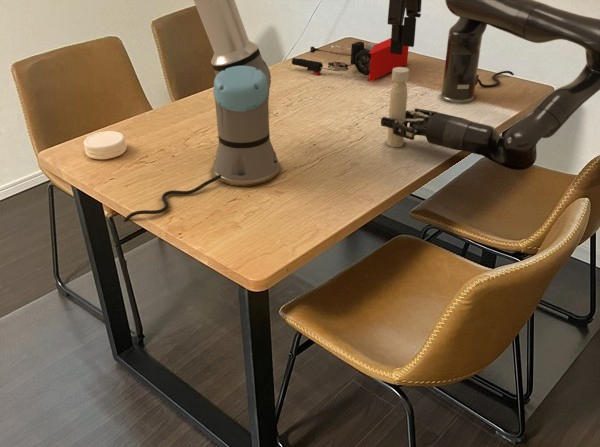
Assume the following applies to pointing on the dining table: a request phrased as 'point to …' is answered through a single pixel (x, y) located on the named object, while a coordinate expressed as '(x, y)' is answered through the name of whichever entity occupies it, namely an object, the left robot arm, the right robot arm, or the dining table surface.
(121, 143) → the white round disc
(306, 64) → the electric hoist
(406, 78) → the cap
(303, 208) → the dining table surface
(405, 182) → the dining table surface
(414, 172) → the dining table surface
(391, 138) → the bottle
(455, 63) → the right robot arm
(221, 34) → the left robot arm
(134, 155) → the dining table surface
